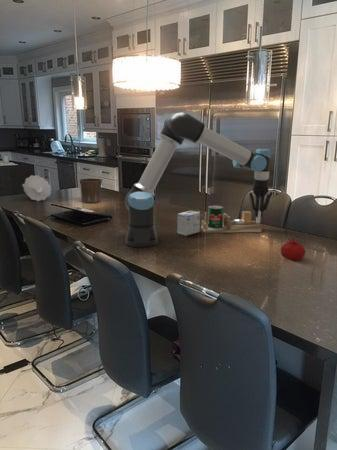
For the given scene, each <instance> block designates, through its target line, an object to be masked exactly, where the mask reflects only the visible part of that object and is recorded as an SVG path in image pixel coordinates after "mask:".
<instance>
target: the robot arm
mask: <svg viewBox="0 0 337 450" xmlns="http://www.w3.org/2000/svg"><path fill="white" fill-rule="evenodd" d="M159 137H160V140H159V142H158V143H157V145H156V148H155V150H154V152H153V154H152V155H151V157H150V159H149V161H148V163H147V165H146V167H145V169H144V171H143V173H142V174H141V177H140V179H139V181H138V182H136V183H134V184H133V185H132V187H131V189H130V191H129V192H127V193H126V196H125V199H124V205H125V208H126V210H127V211H128V229H127V232H126V236H125V239H124V241H125V244H126V245H127V246H129V247H133V248H150V247H154V246H155V245H158V235H157V233H156V230H155V227H154V226H155V223H154V222H155V208H154V207H155V206H154V205H155V189H156V187H157V185H158V183H159V181H160V179H161V178H162V176H163V174H164V172H165V170H166V168H167V167H168V164H169V162H170V161H171V158H172V157H173V155H174V153H175V151H176V149H177V148H178V147H180V146H182V144H183V143H184V140H187V141H190V142H192V143H194V144H197V143H198V144H200V145H203V146H205V147H207V148H208V149H211V150H212V151H214V152H217V153H218V154H219V155H220V154H221V155H222V156H224V157H226V158H228V159H230V160H232V165H233V168H236V169H246V170H250V171H253V172H254V176H253V177H254V179H253V188H252V190H251V191H248V193H247V195H248V196H249V202H250V205H251V206H250V207H251V210H252V211H254V217H255V221H256V224H261V218H262V217H263V213H264V211H267V208H268V205H269V202H270V199H271V197H272V196H273V192H271V191H270V190H269V189H270V188H269V178H270V166H271V159H272V155H271V154H272V152H271V149H268V148H257V149H256V150H255V152H253V151H251V150H249V149H247V148H246V147H244V146H242V145H240V144H238V143H236V142H235V141H233V140H231V139H229V138H227V137H225V136H223V135H222V134H220V133H218V132H215V131H214V130H212V129H210V127H209V128H208V127H207V126H206V123H204V122H202V121H200V120H199V119H197V118H195V117H194V116H193V115H191V114H190V113H186V112H183V111H182V112H173V113H171V114H169V115H168V116H167V117H166V118H165V120H164V122H163V127H162V129H161V131H160V133H159ZM254 196H255V198H254ZM265 196H266V197H265Z"/></svg>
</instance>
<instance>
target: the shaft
mask: <svg viewBox="0 0 337 450" xmlns="http://www.w3.org/2000/svg"><path fill="white" fill-rule="evenodd" d="M252 214H253V212H251V211H250V210H242V211H241V218H233V219H232V221H233V225H251V221H252V216H253V215H252Z"/></svg>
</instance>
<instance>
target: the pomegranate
mask: <svg viewBox="0 0 337 450" xmlns="http://www.w3.org/2000/svg"><path fill="white" fill-rule="evenodd" d="M301 243H302V241H300V240H299V241H298V239H296V238H295V237H294V236H292V238H291V239H288V240H287V241H285V242H284V244H282V246H281V247H280V255H281V256H282V257H283V258H284V259H286V260H289V261H293V262H296V261H301V260H302V259H304V257H305V256H306V255H305V254H306V248H305V247H304V245H302V244H301Z"/></svg>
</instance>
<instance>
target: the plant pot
mask: <svg viewBox="0 0 337 450" xmlns="http://www.w3.org/2000/svg"><path fill="white" fill-rule="evenodd" d="M78 182H79V186H80V187H81V196H82V197H81V198H82V202H83V203H85V204H89V203H90V204H97V203H99V202H101V188H102V182H103V179H101V178H81V179H79V180H78Z"/></svg>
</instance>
